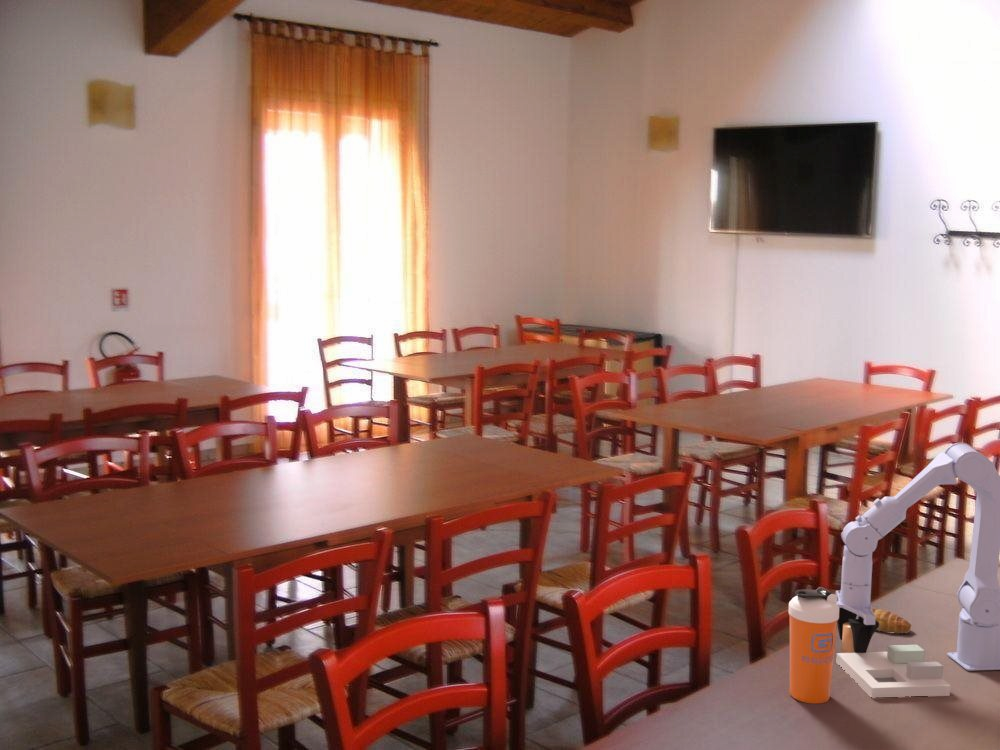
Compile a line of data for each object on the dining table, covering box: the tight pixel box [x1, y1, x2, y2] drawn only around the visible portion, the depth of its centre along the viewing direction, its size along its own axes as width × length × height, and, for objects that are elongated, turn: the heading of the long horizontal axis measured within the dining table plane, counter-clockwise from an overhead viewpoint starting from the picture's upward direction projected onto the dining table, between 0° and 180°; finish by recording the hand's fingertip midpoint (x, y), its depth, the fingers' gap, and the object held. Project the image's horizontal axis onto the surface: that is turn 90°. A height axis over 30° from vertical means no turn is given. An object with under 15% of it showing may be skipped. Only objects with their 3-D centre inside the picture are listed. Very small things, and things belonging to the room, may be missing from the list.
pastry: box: [872, 607, 912, 635], centre depth 224 cm, size 9×7×4 cm
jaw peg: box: [841, 622, 855, 653], centre depth 210 cm, size 4×4×6 cm
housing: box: [835, 651, 951, 699], centre depth 198 cm, size 15×16×4 cm
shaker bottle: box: [787, 586, 839, 705], centre depth 190 cm, size 9×9×20 cm
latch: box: [886, 644, 926, 664], centre depth 202 cm, size 6×3×2 cm, turn 95°
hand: (852, 646), depth 210 cm, fingers open, 6 cm apart
